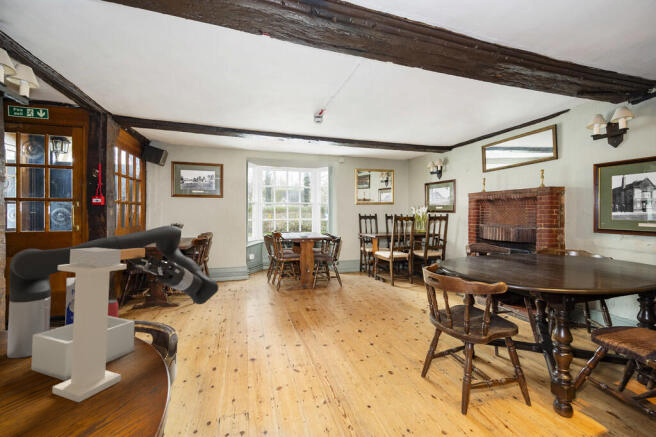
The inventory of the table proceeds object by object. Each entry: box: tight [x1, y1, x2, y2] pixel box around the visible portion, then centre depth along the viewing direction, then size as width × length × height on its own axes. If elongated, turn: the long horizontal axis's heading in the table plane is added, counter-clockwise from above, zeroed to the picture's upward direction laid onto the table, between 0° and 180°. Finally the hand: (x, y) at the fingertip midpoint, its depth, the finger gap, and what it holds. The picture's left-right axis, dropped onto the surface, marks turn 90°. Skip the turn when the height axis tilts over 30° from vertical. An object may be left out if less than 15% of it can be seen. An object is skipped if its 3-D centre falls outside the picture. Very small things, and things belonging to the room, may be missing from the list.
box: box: [30, 316, 136, 382], centre depth 88 cm, size 15×19×10 cm
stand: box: [51, 263, 128, 403], centre depth 74 cm, size 12×10×32 cm
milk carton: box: [64, 277, 75, 326], centre depth 111 cm, size 7×7×20 cm
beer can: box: [108, 298, 119, 318], centre depth 108 cm, size 7×7×12 cm
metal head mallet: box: [70, 247, 146, 268], centre depth 80 cm, size 10×16×4 cm, turn 161°
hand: (139, 258), depth 86 cm, fingers open, 8 cm apart
